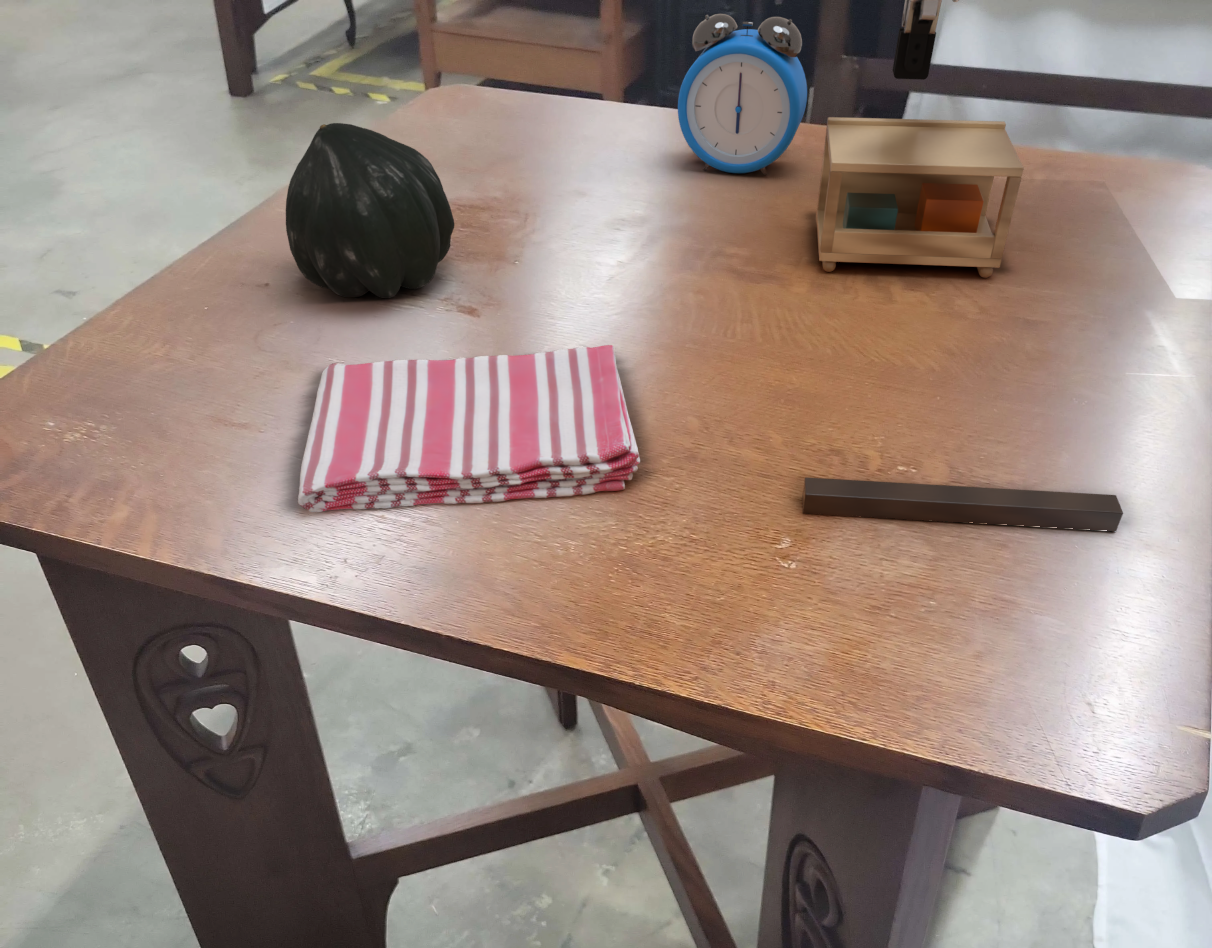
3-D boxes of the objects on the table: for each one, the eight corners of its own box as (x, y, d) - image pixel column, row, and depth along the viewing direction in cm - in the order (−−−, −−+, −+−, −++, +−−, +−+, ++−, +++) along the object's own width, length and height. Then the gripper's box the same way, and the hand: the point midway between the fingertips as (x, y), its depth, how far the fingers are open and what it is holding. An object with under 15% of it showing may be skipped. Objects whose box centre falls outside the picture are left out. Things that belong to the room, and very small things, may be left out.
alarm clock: (674, 171, 117) (678, 20, 107) (687, 152, 122) (692, 5, 112) (792, 181, 114) (808, 27, 104) (801, 161, 119) (816, 12, 109)
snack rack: (979, 232, 104) (1005, 121, 97) (996, 280, 96) (1025, 162, 89) (814, 226, 105) (827, 116, 98) (817, 273, 97) (832, 157, 90)
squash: (483, 185, 100) (355, 62, 92) (481, 259, 89) (337, 126, 81) (385, 283, 106) (258, 176, 98) (373, 363, 95) (228, 249, 87)
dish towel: (643, 492, 72) (643, 449, 70) (297, 518, 71) (285, 475, 68) (615, 368, 85) (614, 328, 83) (321, 387, 83) (312, 347, 81)
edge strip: (1108, 514, 70) (1116, 494, 69) (1116, 532, 68) (1123, 512, 67) (802, 496, 72) (804, 476, 71) (802, 513, 70) (805, 494, 69)
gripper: (1011, -146, 83) (959, 103, 95) (984, -171, 94) (940, 55, 106) (914, -147, 83) (874, 100, 96) (898, -172, 94) (864, 53, 107)
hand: (909, 76), depth 101 cm, fingers closed
